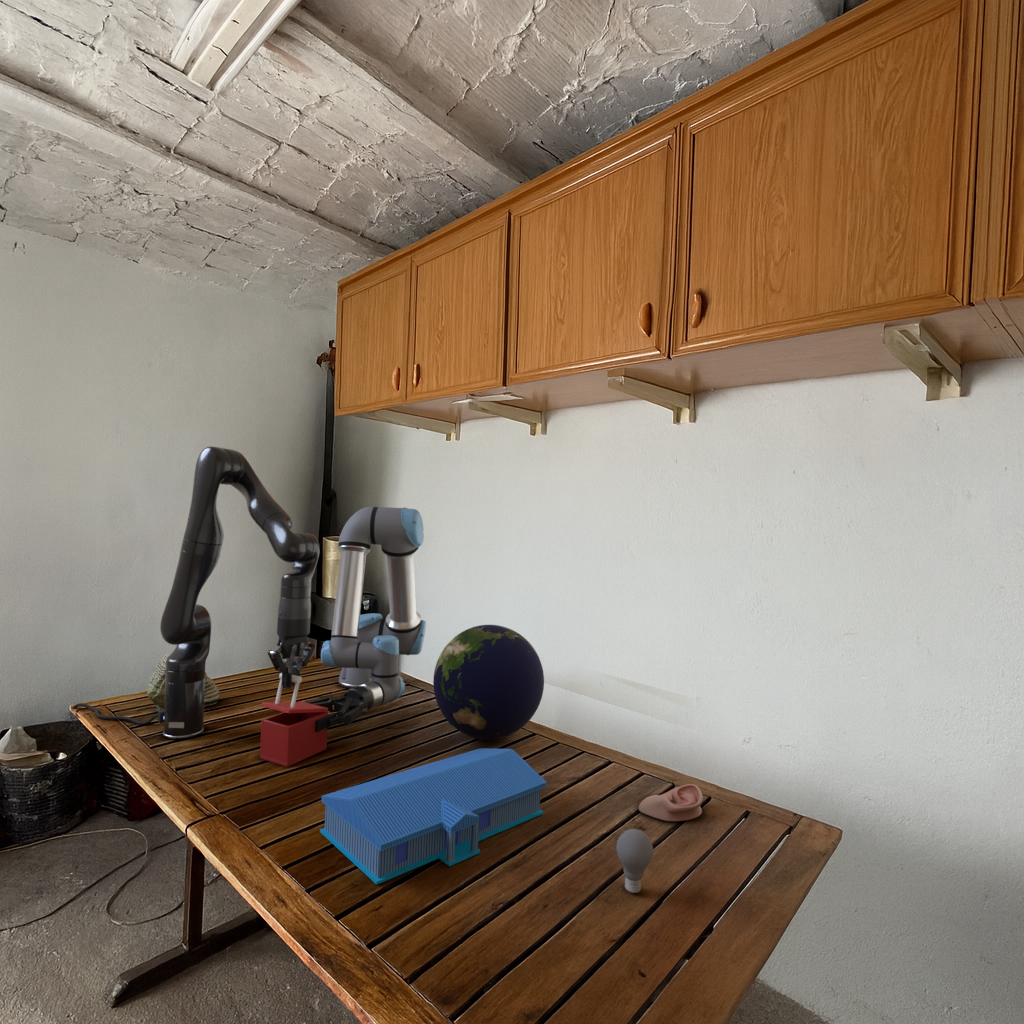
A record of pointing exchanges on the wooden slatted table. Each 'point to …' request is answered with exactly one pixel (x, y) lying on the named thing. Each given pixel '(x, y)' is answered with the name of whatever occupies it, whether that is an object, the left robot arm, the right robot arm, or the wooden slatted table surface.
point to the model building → (431, 811)
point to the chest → (291, 737)
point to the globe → (488, 681)
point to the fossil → (158, 687)
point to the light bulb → (634, 857)
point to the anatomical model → (674, 804)
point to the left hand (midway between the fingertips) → (290, 686)
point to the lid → (292, 706)
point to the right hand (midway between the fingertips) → (301, 722)
